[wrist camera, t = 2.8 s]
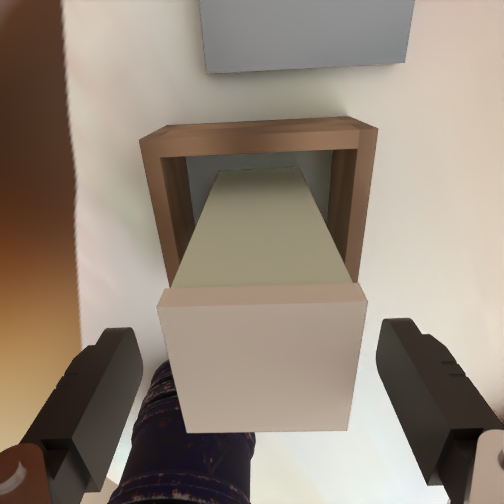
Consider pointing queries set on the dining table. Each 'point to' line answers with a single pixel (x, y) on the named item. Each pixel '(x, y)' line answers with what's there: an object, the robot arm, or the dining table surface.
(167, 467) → the dark blue cylinder
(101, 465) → the robot arm
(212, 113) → the dining table surface
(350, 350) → the tea tin
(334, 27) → the blue-grey square panel
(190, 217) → the crate
